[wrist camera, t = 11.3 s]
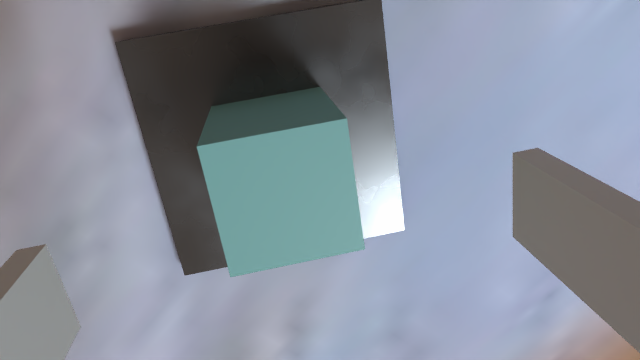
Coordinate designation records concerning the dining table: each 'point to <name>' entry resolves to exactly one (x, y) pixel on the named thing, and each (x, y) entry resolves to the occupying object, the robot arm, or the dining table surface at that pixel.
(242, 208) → the teal block
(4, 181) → the dining table surface
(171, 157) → the grey square plate
